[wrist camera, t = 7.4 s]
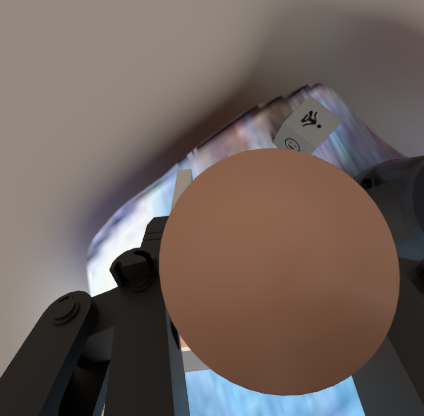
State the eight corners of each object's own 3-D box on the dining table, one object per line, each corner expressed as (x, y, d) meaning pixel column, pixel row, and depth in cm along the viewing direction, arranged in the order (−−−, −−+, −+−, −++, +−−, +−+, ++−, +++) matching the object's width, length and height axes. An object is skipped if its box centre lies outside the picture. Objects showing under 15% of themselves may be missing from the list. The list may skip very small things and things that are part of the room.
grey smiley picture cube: (294, 120, 31) (310, 95, 26) (321, 141, 30) (342, 120, 25) (272, 142, 30) (283, 122, 25) (299, 165, 29) (316, 148, 24)
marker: (256, 217, 15) (366, 137, 4) (265, 278, 14) (431, 380, 3) (197, 223, 15) (152, 160, 4) (203, 285, 14) (167, 409, 3)
